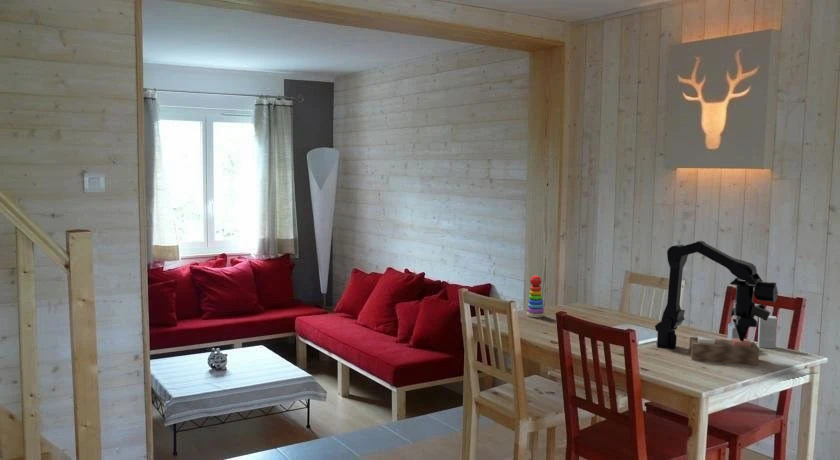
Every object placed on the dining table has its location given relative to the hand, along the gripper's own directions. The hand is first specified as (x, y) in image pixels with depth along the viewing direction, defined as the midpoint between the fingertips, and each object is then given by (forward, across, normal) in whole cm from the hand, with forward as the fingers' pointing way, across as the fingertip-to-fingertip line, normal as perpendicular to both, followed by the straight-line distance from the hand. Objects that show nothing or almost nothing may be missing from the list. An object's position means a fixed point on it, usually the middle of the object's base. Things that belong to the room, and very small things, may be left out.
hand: (741, 340), depth 255 cm
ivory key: (+4, 0, +12) cm, 13 cm away
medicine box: (+8, +19, -1) cm, 20 cm away
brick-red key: (+4, 0, 0) cm, 4 cm away
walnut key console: (+7, 0, +6) cm, 9 cm away
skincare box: (+8, +24, -13) cm, 28 cm away
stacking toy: (+8, +48, +79) cm, 93 cm away
